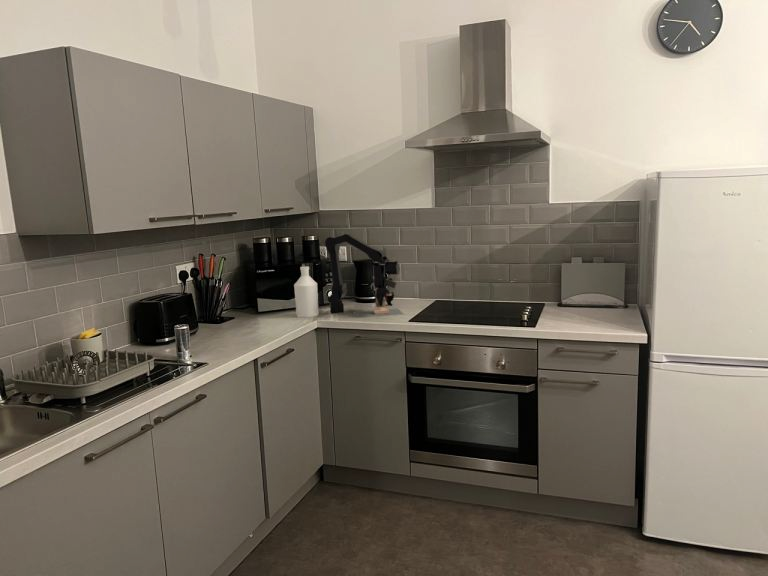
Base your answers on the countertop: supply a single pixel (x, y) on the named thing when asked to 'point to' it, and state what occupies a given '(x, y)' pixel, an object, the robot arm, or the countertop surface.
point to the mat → (370, 314)
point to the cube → (378, 303)
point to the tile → (380, 311)
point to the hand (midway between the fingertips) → (380, 304)
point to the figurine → (389, 297)
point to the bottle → (306, 295)
